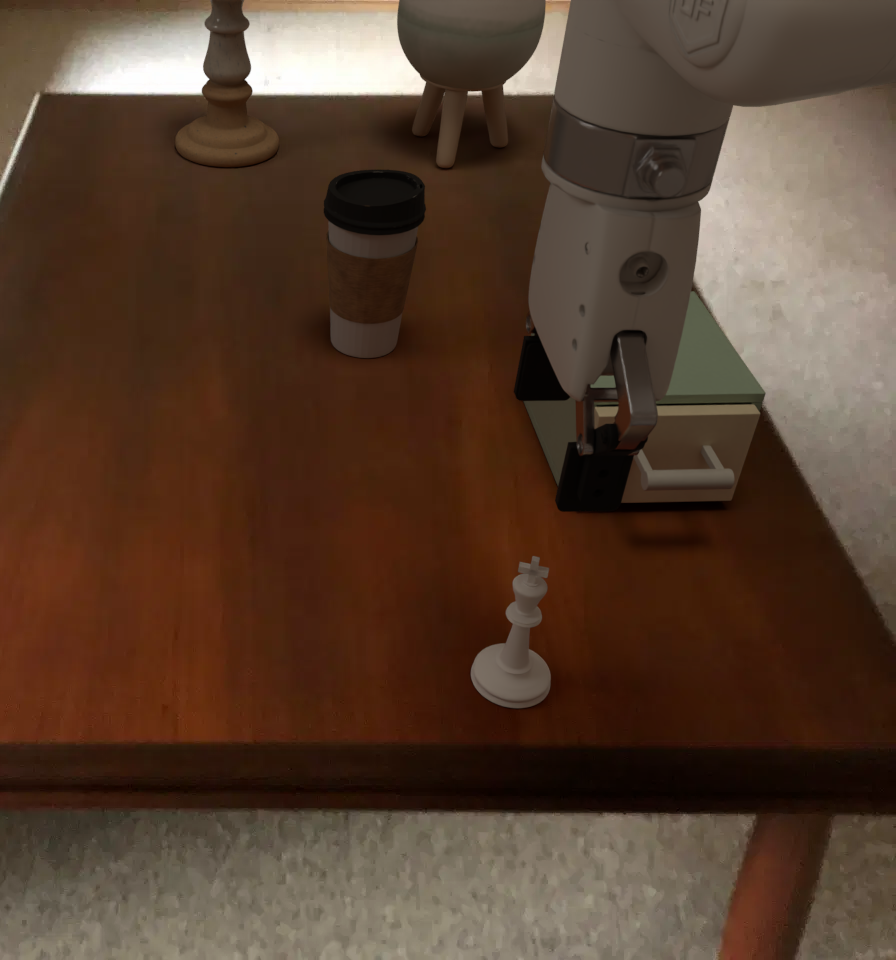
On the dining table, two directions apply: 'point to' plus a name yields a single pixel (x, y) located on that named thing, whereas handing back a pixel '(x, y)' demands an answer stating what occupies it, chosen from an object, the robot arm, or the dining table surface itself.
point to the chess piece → (516, 648)
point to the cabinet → (696, 379)
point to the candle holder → (227, 99)
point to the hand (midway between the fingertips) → (562, 449)
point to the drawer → (689, 452)
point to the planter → (466, 59)
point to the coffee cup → (371, 256)
